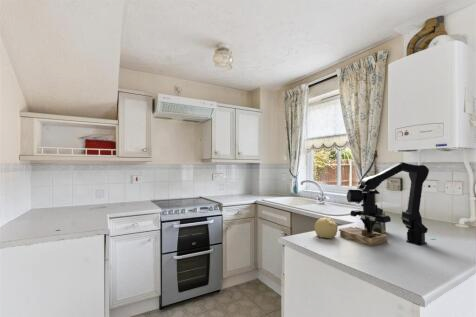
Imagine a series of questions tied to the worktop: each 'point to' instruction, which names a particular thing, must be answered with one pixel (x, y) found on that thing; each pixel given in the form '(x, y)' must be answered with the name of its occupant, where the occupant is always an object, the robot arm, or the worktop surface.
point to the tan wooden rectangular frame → (365, 238)
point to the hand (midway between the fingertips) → (369, 232)
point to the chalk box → (379, 226)
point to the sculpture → (326, 228)
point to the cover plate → (359, 231)
